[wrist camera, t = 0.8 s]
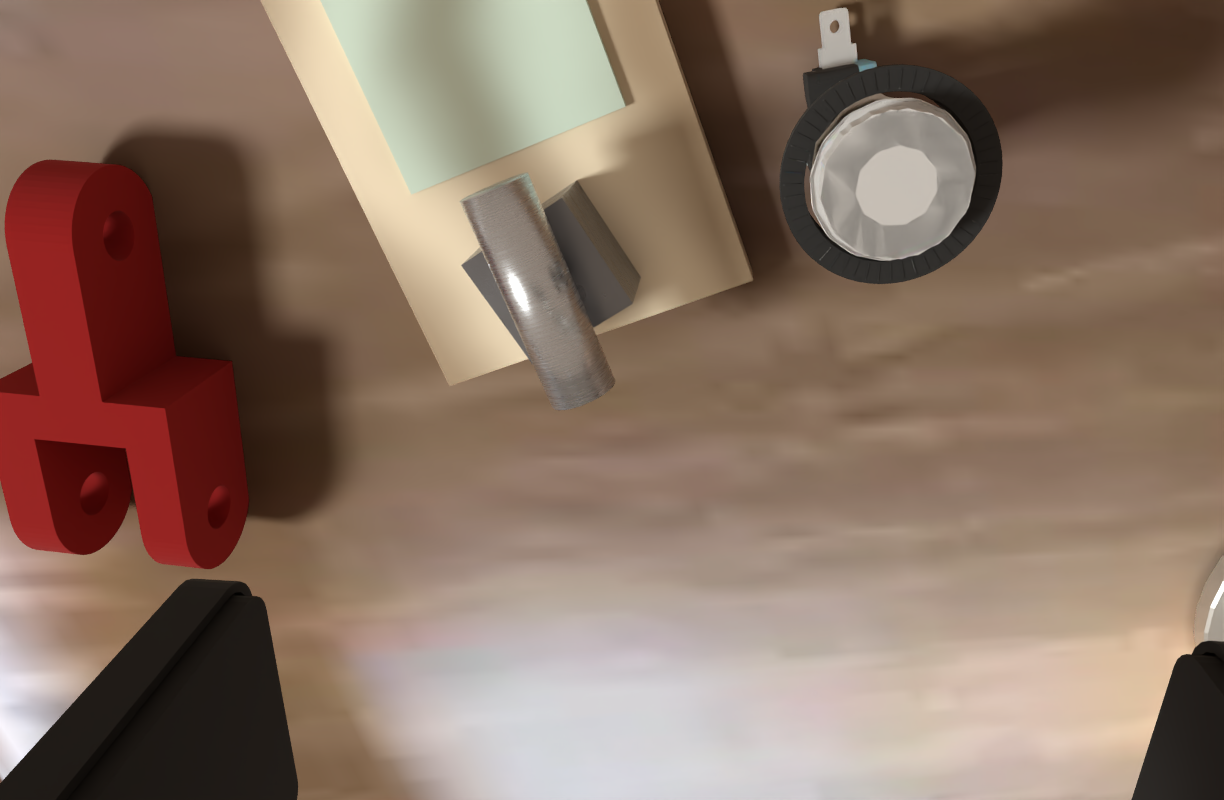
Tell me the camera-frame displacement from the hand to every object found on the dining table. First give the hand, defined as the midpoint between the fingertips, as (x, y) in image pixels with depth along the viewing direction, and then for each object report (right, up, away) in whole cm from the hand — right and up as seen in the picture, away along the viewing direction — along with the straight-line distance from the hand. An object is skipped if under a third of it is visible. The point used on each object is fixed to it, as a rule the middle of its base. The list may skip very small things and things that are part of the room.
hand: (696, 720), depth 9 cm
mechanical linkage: (-20, +5, +28) cm, 35 cm away
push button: (+7, +13, +21) cm, 26 cm away
